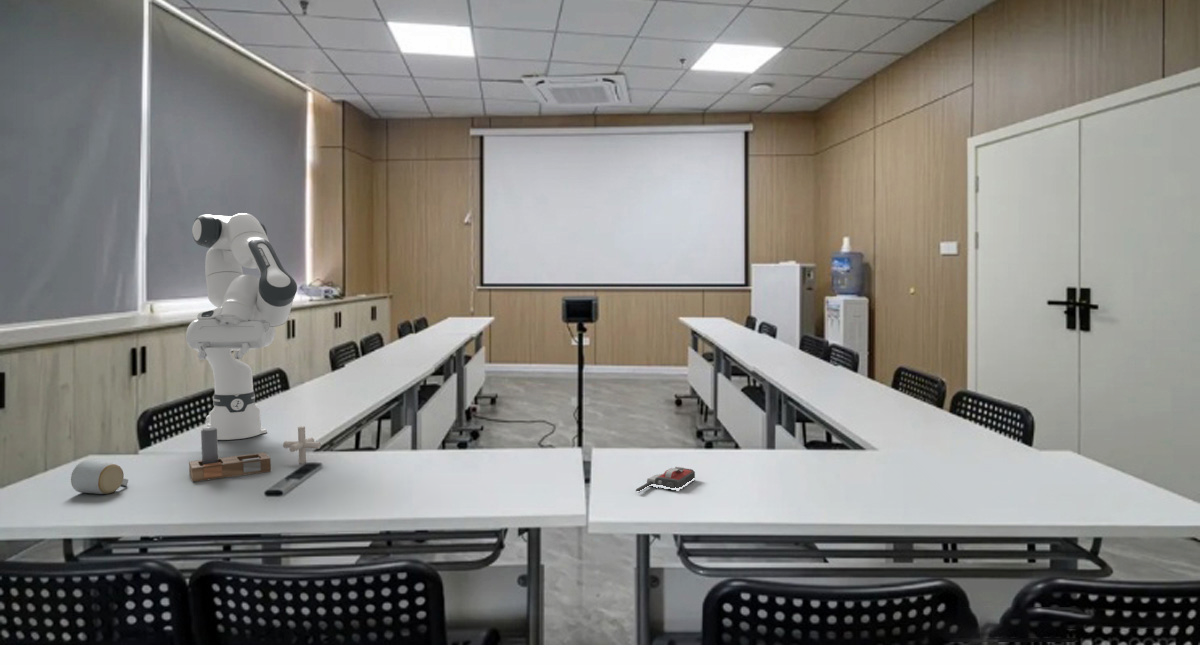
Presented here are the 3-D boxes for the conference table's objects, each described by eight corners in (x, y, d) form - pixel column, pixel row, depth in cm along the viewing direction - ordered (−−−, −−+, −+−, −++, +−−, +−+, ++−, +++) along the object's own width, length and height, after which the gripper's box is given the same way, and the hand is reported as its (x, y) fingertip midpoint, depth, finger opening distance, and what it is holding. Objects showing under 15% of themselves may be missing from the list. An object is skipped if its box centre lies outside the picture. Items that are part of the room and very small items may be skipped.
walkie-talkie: (666, 476, 184) (632, 496, 167) (666, 459, 184) (632, 477, 166) (698, 480, 180) (666, 501, 162) (698, 463, 180) (667, 482, 162)
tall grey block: (202, 475, 182) (200, 427, 181) (217, 473, 184) (215, 425, 183) (203, 478, 179) (201, 429, 178) (219, 476, 181) (217, 428, 181)
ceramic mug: (100, 498, 163) (99, 465, 162) (70, 496, 164) (69, 463, 164) (138, 486, 173) (137, 455, 173) (109, 484, 174) (108, 453, 174)
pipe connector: (328, 458, 200) (327, 423, 199) (310, 467, 190) (309, 431, 189) (294, 457, 201) (294, 423, 200) (275, 466, 191) (274, 430, 190)
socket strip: (189, 475, 183) (189, 460, 182) (265, 464, 193) (264, 451, 193) (192, 482, 176) (192, 467, 175) (271, 471, 186) (270, 457, 186)
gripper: (274, 327, 204) (262, 364, 195) (200, 327, 202) (185, 365, 193) (268, 312, 199) (256, 350, 190) (192, 312, 197) (176, 350, 188)
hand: (219, 358), depth 192 cm, fingers open, 8 cm apart
